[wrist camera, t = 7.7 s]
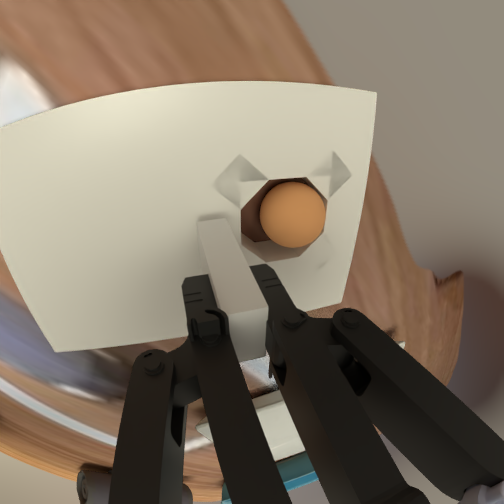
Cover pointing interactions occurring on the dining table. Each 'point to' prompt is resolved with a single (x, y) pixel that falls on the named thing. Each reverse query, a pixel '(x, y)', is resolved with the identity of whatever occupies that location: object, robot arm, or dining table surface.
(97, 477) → the bluetooth speaker
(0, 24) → the dining table surface
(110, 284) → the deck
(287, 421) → the square plate
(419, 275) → the dining table surface
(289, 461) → the casserole dish
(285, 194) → the ball
